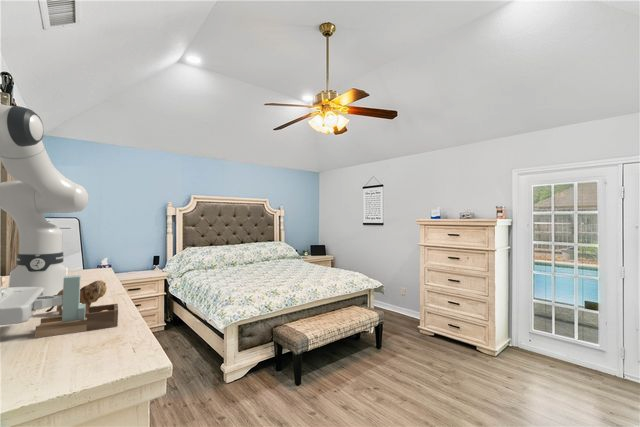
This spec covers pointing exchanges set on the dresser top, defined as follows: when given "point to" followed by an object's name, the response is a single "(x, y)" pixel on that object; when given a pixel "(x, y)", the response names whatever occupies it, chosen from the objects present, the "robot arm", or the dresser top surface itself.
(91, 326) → the dark brown open box
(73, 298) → the grey-green l-shaped block
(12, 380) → the dresser top surface
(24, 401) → the dresser top surface
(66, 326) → the lane
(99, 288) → the lion figurine
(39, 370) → the dresser top surface
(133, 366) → the dresser top surface
